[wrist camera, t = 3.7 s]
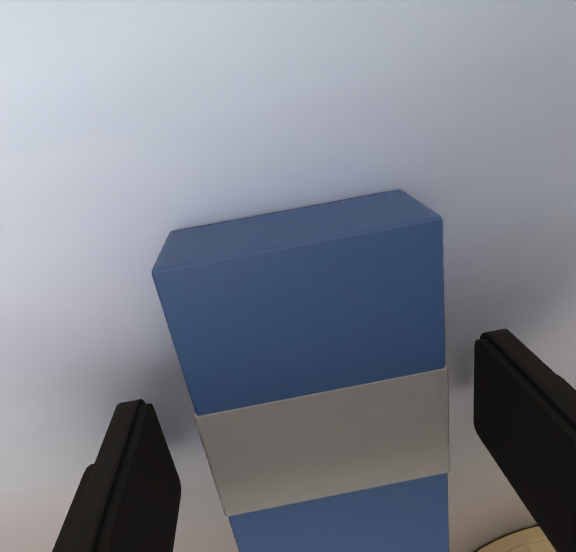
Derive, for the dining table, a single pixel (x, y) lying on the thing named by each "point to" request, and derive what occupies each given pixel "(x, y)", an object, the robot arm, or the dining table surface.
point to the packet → (318, 372)
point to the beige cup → (521, 542)
